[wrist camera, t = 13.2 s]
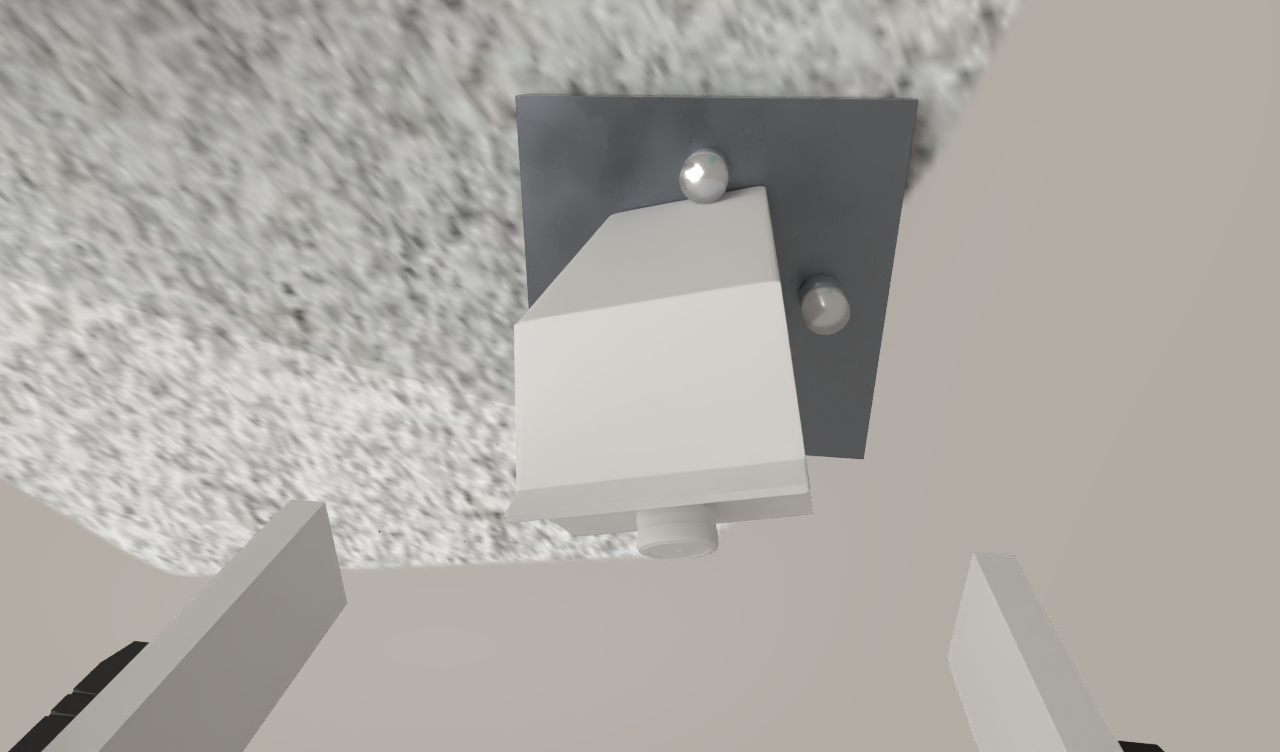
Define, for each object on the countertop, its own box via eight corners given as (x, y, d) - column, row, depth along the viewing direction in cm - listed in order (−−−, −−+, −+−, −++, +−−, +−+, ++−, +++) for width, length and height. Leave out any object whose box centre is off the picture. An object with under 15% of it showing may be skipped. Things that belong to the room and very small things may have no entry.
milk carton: (610, 213, 33) (459, 384, 15) (765, 183, 31) (789, 336, 14) (641, 354, 35) (542, 635, 18) (786, 333, 34) (827, 616, 17)
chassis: (544, 423, 39) (523, 460, 36) (525, 94, 33) (497, 98, 29) (858, 444, 37) (871, 486, 34) (910, 97, 30) (932, 103, 27)
